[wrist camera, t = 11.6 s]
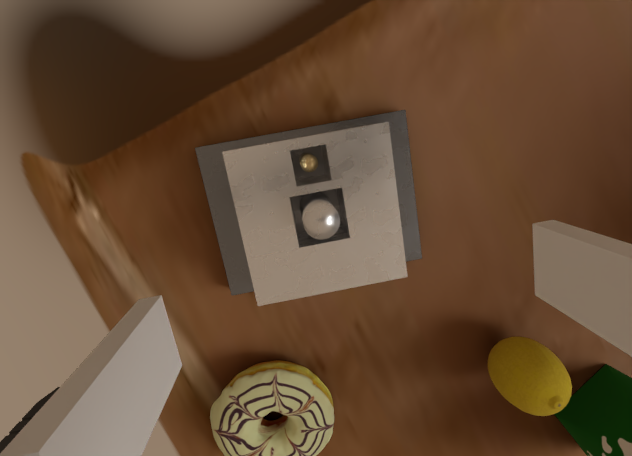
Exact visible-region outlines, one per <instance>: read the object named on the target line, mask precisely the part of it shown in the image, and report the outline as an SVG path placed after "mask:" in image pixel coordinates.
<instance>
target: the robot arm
mask: <svg viewBox="0 0 632 456" xmlns="http://www.w3.org/2000/svg"><path fill="white" fill-rule="evenodd" d="M532 226H533V254H534V282H535V295H536V296H537V297H539V298H540V299H542V300H544V301H545V302H547V303H548V304H550V305H551V306H553V307H554V308H556V309H558V310H559V311H561V312H562V313H564V314H565V315H567V316H569V317H570V318H572V319H573V320H575V321H576V322H578V323H580V324H581V325H583V326H584V327H586V328H587V329H589V330H591V331H592V332H594V333H595V334H597V335H598V336H600V337H602V338H603V339H605V340H606V341H608V342H609V343H611V344H613V345H614V346H616V347H617V348H619V349H620V350H622V351H624V352H625V353H627V354H628V355H630V356H631V357H632V244H630V243H627V242H624V241H620V240H617V239H614V238H611V237H607V236H604V235H601V234H598V233H595V232H591V231H588V230H585V229H582V228H579V227H575V226H572V225H569V224H566V223H562V222H559V221H556V220H549V221H544V222H539V223H533V224H532ZM181 367H182V363H181V360H180V356H179V353H178V349H177V346H176V343H175V339H174V336H173V333H172V329H171V326H170V323H169V319H168V316H167V313H166V309H165V306H164V303H163V299H162V296H161V295H160V296H155V297H150V298H145V299H139V300H138V301H137V302H136V303H135V304H134V306H133V307H132V308H131V309H130V310H129V311H128V312H127V313H126V314H125V316H124V317H123V318H122V319H121V320H120V321H119V322H118V323H117V324H116V326H115V327H114V328H113V329H112V330H111V331H110V332H109V333H108V334H107V336H106V337H105V338H104V339H103V340H102V341H101V342H100V343H99V345H98V346H97V347H96V348H95V349H94V350H93V351H92V352H91V353H90V354H89V356H88V357H87V358H86V359H85V360H84V361H83V362H82V363H81V364H80V366H79V367H78V368H77V369H76V370H75V371H74V372H73V373H72V374H71V376H70V377H69V378H68V379H67V380H66V381H65V382H64V384H63V385H62V386H61V387H58V388H56V389H55V390H54V391H52V392H51V393H50V394H48V395H47V396H45V397H44V398H43V399H41V400H40V401H39V402H38V403H36V404H35V405H34V406H33V408H32V409H31V410H30V411H29V412H28V413H27V414H26V415H25V416H24V417H23V418H22V421H21V422H19V423H18V424H17V425H16V426H15V427H14V428H13V429H12V430H11V431H10V432H9V433H10V434H9V435H8V436H6V437H5V438H4V439H3V440H2V441H1V442H0V456H141V455H142V453H143V451H144V449H145V446H146V444H147V442H148V440H149V438H150V436H151V433H152V431H153V429H154V427H155V424H156V422H157V420H158V418H159V416H160V413H161V411H162V409H163V407H164V405H165V402H166V400H167V398H168V396H169V394H170V391H171V389H172V387H173V385H174V382H175V380H176V378H177V376H178V374H179V371H180V369H181Z"/></svg>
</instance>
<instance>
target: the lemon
mask: <svg viewBox="0 0 632 456" xmlns="http://www.w3.org/2000/svg"><path fill="white" fill-rule="evenodd" d="M488 372H489V375H490V377H491V380H492V382H493V384H494V386H495V387H496V388H497V390H498V391H499V392H500V393H501V395H502V396H503V397H504V398H505V399H506V400H507V401H509V402H510V403H511V404H513V405H514V406H516V407H517V408H519V409H520V410H522V411H524V412H526V413H529V414H532V415H536V416H548V415H553V414H555V413H558V412H559V411H561V410H562V409H563V408H564V407H565V406H566V405H567V404H568V402H569V400H570V397H571V393H572V384H571V379H570V376H569V374H568V372H567V370H566V368H565V367H564V365H563V364H562V362H561V361H560V360H559V359H558V358H557V356H556V355H555V354H554V353H552V352H551V351H550V350H549V349H548V348H547V347H545V346H544V345H542V344H540V343H538V342H536V341H535V340H532V339H530V338H525V337H509V338H505V339H503V340H501V341H499V342H498V343H497V344H496V345H495V346H494V347H493V348H492V349H491V351H490V354H489V357H488Z"/></svg>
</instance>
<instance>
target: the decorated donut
mask: <svg viewBox="0 0 632 456" xmlns="http://www.w3.org/2000/svg"><path fill="white" fill-rule="evenodd" d="M271 411H276V412H279V413H281V414H283V416H282V417H280V418H278V419H276V420H272V421H268V420H265V419H263V417H264V416H266V415H267V414H269V413H270V412H271ZM210 421H211V427H212V431H213V436H214V439H215V441H216V443H217V445H218V447H219V448H220V450H221V451H222V452H223V454H224V455H225V456H316V455H317V454H318V453H320V452H321V450H322V449H323V448H324V447H325V446H326V444H327V443H328V442H329V440H330V438H331V436H332V433H333V425H334V407H333V401H332V396H331V394H330V392H329V390H328V388H327V387H326V386H325V385H324V384H323V382H322V381H321V380H320V379H319V378H318V377H317V376H316V375H315V374H313V373H312V372H311V371H310V370H309V369H307V368H306V367H304V366H302V365H298V364H295V363H292V362H288V361H281V360H277V361H268V362H262V363H258V364H256V365H253V366H251V367H249V368H247V369H246V370H244V371H242V372H241V373H239V374H237V375H236V376H235V377H234V378H233V379H232V380H231V381H230V382H229V383H228V384H227V386H226V387H225V388H224V390H223V391H222V394H221V396H220V397H219V398H218V399H217V400H216V401H215V402H214V403H213V405H212V407H211V411H210Z"/></svg>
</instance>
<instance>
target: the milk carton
mask: <svg viewBox="0 0 632 456" xmlns="http://www.w3.org/2000/svg"><path fill="white" fill-rule="evenodd" d="M554 415H555V416H556V417H557V418H558V419H559V421H560V422H561V423H562V424H563V426H564V427H565V428H566V430H567V431H568V432H569V433H570V435H571V436H572V437H573V438H574V440H575V441H576V442H577V443H578V445H579V446H580V447H581V449H582V450H583V451H584V452H585V454H586V455H587V456H632V378H631V377H629V376H627V375H625V374H623V373H621V372H620V371H618V370H616V369H614V368H612V367H611V366H609V365H607V364H605V365H604V366H603V367H602V368H601V369H600V370H599V371H598V372H597V373H596V374H595V375H594V376H593V377H592V378H590V379H589V380H588V381H587V382H586V383H585V384H584V385H583V386H582V387H581V388H580V389H579V390H578V391H577V392H576V393H575V394H573V395H572V396H571V397H570V400H569V402H568V404H567V405H566V406H565V407H564V408H563V409H562V410H561V411H559V412H558V413H555V414H554Z"/></svg>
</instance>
